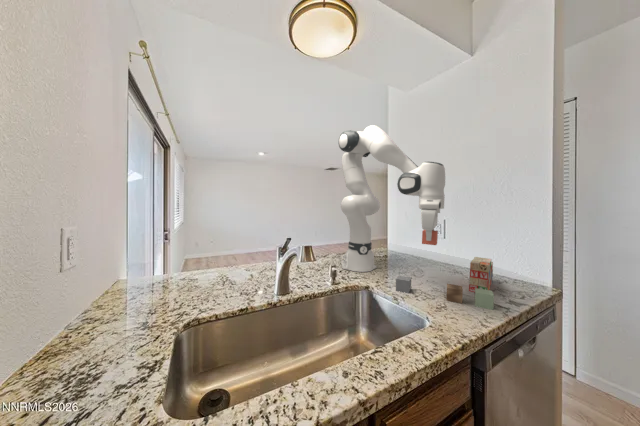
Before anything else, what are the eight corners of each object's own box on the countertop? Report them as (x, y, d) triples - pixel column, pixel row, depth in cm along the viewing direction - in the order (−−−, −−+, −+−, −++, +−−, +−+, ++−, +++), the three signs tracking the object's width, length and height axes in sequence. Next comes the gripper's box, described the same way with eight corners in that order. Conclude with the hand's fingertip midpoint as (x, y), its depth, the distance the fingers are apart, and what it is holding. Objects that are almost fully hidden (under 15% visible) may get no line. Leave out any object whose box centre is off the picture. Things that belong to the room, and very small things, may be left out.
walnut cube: (446, 300, 87) (446, 287, 87) (446, 296, 91) (447, 283, 91) (462, 304, 85) (462, 290, 84) (461, 299, 89) (462, 285, 89)
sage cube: (475, 306, 83) (476, 292, 82) (474, 301, 87) (475, 288, 87) (493, 310, 80) (493, 295, 80) (491, 304, 84) (491, 290, 84)
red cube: (421, 243, 92) (422, 230, 92) (423, 242, 96) (424, 229, 96) (436, 245, 89) (436, 232, 89) (437, 243, 94) (437, 230, 93)
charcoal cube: (395, 291, 96) (396, 278, 96) (398, 287, 100) (398, 275, 100) (408, 293, 93) (409, 281, 93) (410, 289, 98) (411, 277, 97)
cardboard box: (476, 278, 113) (477, 253, 113) (492, 281, 109) (494, 255, 108) (468, 291, 97) (470, 261, 96) (487, 295, 93) (489, 264, 92)
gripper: (425, 203, 102) (424, 235, 103) (418, 203, 85) (417, 242, 86) (442, 204, 99) (440, 236, 100) (438, 204, 82) (436, 244, 82)
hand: (429, 239), depth 93 cm, fingers closed on red cube, 5 cm apart
